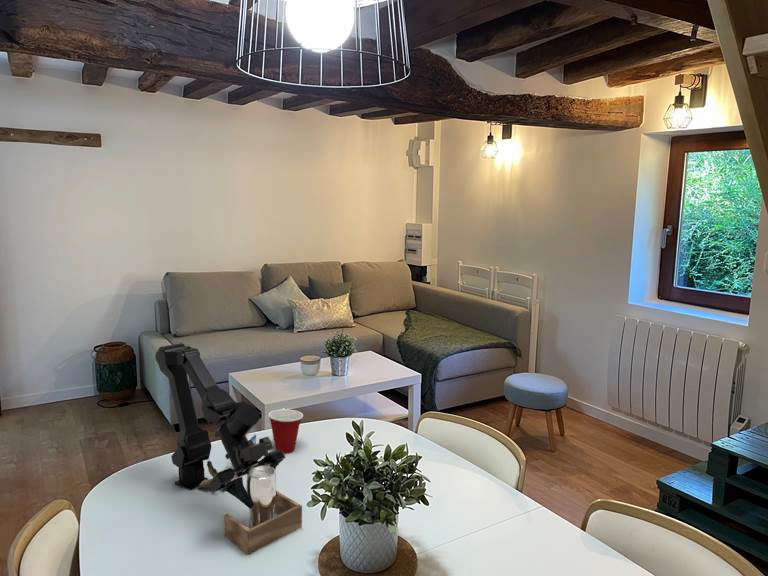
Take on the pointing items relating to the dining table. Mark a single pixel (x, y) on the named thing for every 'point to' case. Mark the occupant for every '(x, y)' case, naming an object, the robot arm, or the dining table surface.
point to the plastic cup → (285, 428)
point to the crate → (265, 526)
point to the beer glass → (261, 493)
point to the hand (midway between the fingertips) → (263, 502)
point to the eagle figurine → (207, 482)
